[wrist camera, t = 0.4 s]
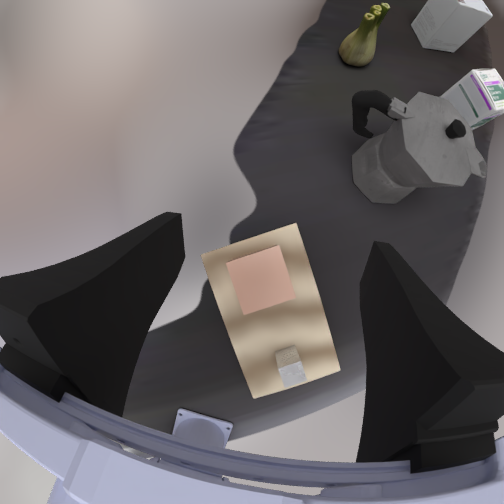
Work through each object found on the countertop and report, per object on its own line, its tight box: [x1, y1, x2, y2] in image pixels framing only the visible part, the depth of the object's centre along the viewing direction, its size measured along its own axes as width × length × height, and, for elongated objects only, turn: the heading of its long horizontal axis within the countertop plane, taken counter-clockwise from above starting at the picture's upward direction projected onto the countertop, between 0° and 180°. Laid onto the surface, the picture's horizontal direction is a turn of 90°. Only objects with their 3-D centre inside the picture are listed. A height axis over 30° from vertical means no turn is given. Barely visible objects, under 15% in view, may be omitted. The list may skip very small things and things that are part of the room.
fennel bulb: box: [339, 3, 390, 66], centre depth 29 cm, size 6×5×12 cm
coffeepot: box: [352, 90, 487, 204], centre depth 27 cm, size 15×9×18 cm, turn 67°
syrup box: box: [440, 69, 504, 130], centre depth 28 cm, size 6×6×14 cm
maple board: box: [201, 223, 340, 398], centre depth 36 cm, size 20×12×1 cm, turn 18°
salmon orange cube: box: [226, 245, 296, 315], centre depth 33 cm, size 6×6×6 cm
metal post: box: [275, 345, 307, 388], centre depth 33 cm, size 3×3×6 cm
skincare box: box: [411, 0, 492, 53], centre depth 28 cm, size 8×6×15 cm
